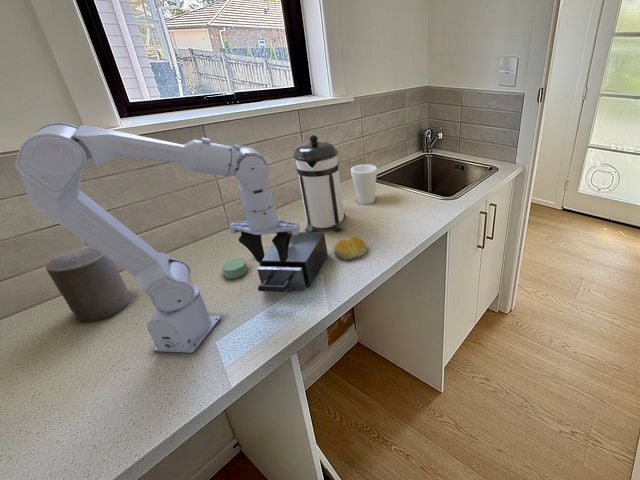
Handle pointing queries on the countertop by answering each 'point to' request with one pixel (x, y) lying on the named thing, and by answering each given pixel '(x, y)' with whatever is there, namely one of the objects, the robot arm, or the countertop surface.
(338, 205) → the coffee press
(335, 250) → the bread roll
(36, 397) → the countertop surface
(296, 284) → the dish drawer
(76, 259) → the pillar candle
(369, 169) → the foam cup
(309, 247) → the drawer cabinet
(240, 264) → the green short cylinder
